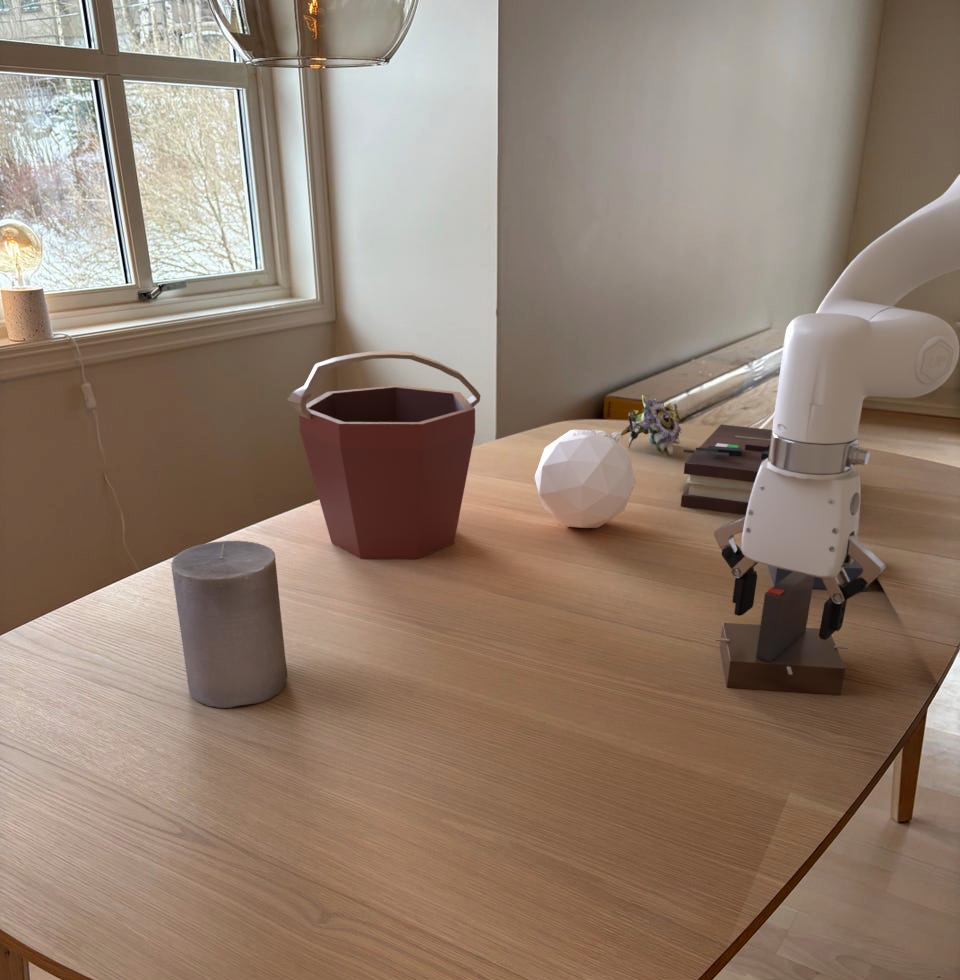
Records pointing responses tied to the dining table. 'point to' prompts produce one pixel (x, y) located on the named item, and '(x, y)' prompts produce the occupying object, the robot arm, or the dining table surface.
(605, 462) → the geodesic sphere
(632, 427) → the passion flower
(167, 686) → the dining table surface
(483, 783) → the dining table surface
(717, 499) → the decorative book
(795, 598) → the frame near
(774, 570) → the stand far
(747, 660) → the stand near
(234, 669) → the pillar candle
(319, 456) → the bucket
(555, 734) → the dining table surface
